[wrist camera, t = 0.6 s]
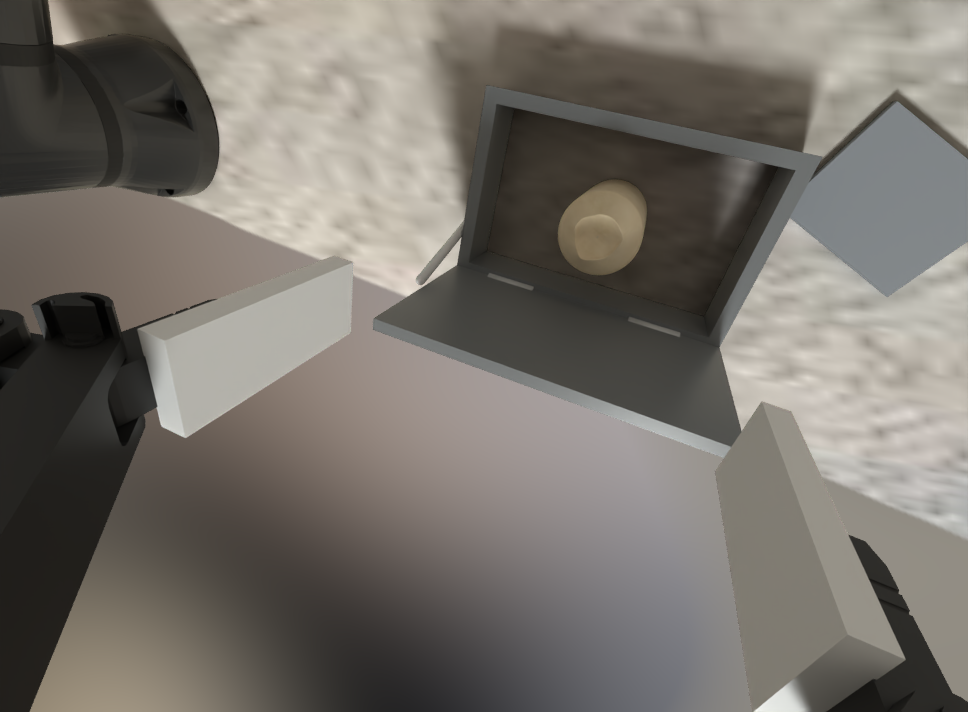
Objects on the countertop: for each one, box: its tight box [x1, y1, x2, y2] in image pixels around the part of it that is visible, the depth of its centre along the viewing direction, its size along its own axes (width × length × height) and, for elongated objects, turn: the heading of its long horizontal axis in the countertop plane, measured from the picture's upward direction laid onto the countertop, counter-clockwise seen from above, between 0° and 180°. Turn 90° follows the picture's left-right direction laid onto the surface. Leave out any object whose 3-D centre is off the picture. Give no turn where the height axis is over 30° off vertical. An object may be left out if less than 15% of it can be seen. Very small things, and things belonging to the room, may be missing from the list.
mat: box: [790, 101, 968, 297], centre depth 29 cm, size 10×8×1 cm
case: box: [373, 85, 822, 458], centre depth 29 cm, size 23×14×18 cm, turn 78°
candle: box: [558, 179, 647, 275], centre depth 32 cm, size 6×6×10 cm
